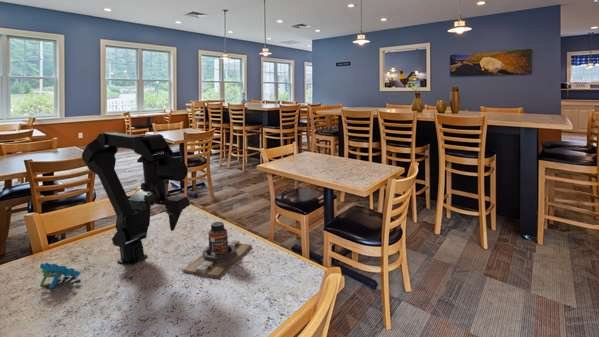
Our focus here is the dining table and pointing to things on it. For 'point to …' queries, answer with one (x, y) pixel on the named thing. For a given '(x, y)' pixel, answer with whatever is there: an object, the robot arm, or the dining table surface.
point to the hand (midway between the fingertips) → (159, 228)
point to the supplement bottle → (218, 240)
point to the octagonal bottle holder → (217, 261)
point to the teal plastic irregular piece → (56, 272)
